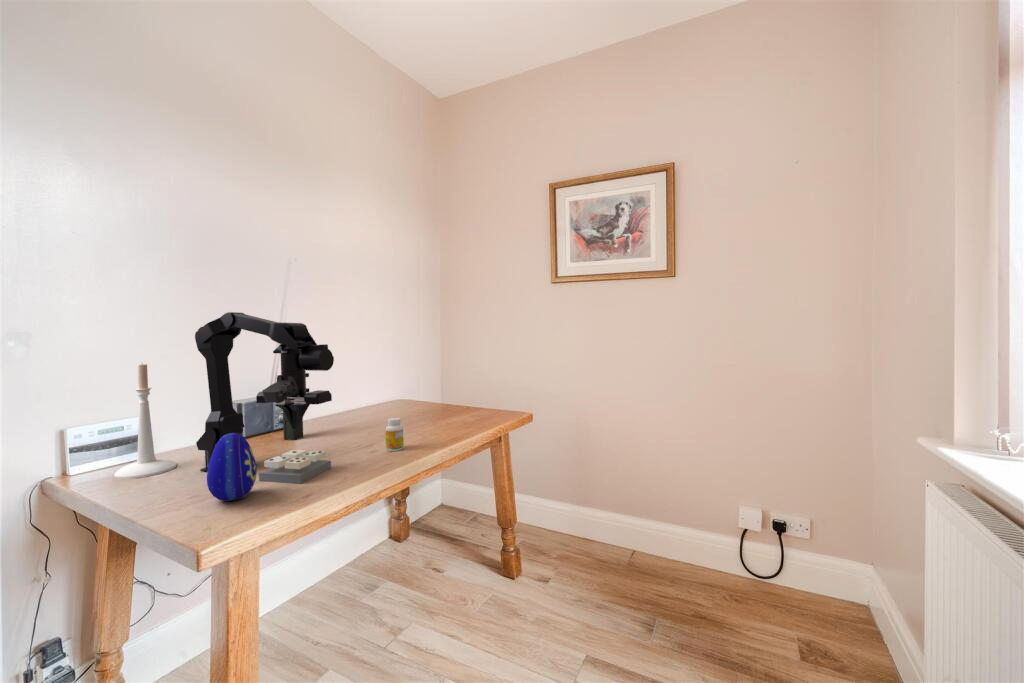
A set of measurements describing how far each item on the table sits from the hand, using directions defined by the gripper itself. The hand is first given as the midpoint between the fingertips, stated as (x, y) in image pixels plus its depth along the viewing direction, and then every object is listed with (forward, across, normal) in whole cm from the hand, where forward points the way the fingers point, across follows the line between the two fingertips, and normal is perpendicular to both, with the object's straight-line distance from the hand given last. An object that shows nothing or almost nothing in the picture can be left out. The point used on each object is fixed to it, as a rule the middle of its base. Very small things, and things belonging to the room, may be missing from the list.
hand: (295, 429), depth 109 cm
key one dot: (+9, -3, +3) cm, 10 cm away
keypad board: (+12, 0, 0) cm, 12 cm away
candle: (+12, -28, +32) cm, 45 cm away
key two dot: (+9, -3, -3) cm, 10 cm away
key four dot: (+9, +3, -3) cm, 10 cm away
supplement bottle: (+12, +15, +26) cm, 32 cm away
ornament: (+12, -3, -16) cm, 21 cm away
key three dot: (+9, +3, +3) cm, 10 cm away
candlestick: (+12, -44, -4) cm, 46 cm away
